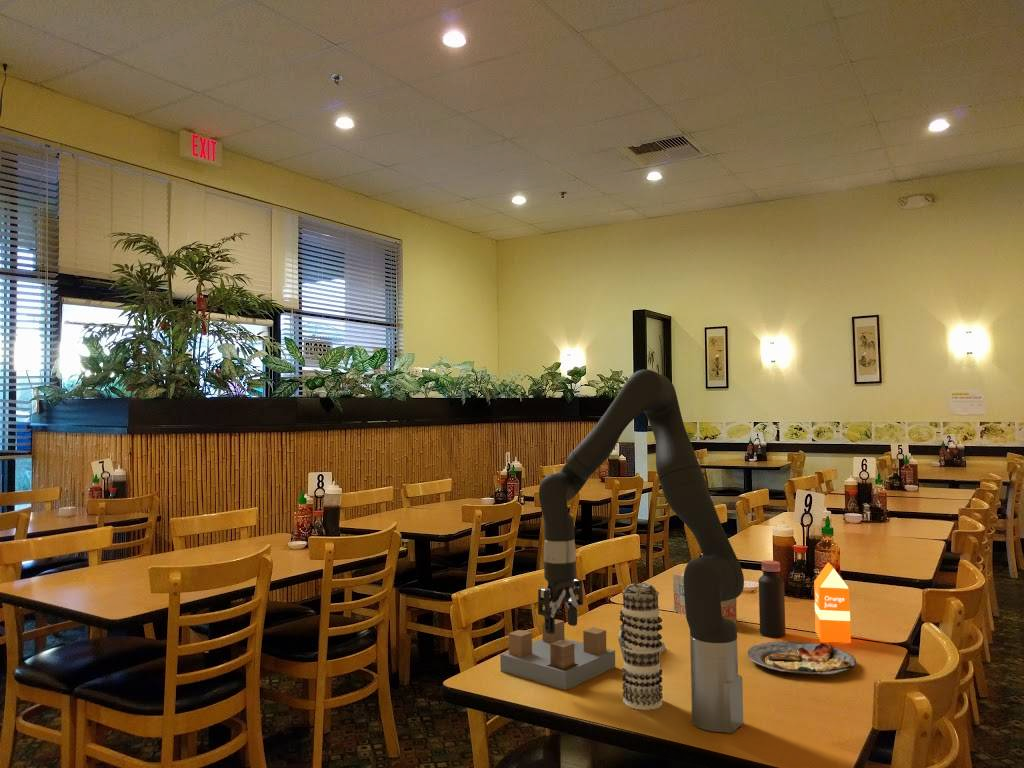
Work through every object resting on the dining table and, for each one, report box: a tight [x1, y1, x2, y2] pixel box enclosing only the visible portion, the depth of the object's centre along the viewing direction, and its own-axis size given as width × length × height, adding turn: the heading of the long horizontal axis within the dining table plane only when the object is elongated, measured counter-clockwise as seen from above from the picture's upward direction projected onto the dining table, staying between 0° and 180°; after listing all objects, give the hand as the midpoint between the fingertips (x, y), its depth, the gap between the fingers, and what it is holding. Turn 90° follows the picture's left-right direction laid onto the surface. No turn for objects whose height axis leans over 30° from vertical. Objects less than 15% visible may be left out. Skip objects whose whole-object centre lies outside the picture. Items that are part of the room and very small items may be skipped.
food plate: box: [747, 640, 857, 676], centre depth 185 cm, size 25×23×4 cm
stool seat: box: [499, 619, 616, 691], centre depth 183 cm, size 20×20×9 cm
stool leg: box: [550, 640, 575, 671], centre depth 174 cm, size 4×4×9 cm
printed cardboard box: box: [672, 571, 738, 626], centre depth 226 cm, size 21×6×12 cm, turn 26°
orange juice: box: [813, 561, 852, 644], centre depth 205 cm, size 8×9×20 cm
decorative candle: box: [619, 582, 663, 711], centre depth 162 cm, size 9×9×25 cm
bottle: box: [758, 560, 786, 639], centre depth 209 cm, size 7×7×20 cm
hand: (561, 629), depth 174 cm, fingers open, 8 cm apart
